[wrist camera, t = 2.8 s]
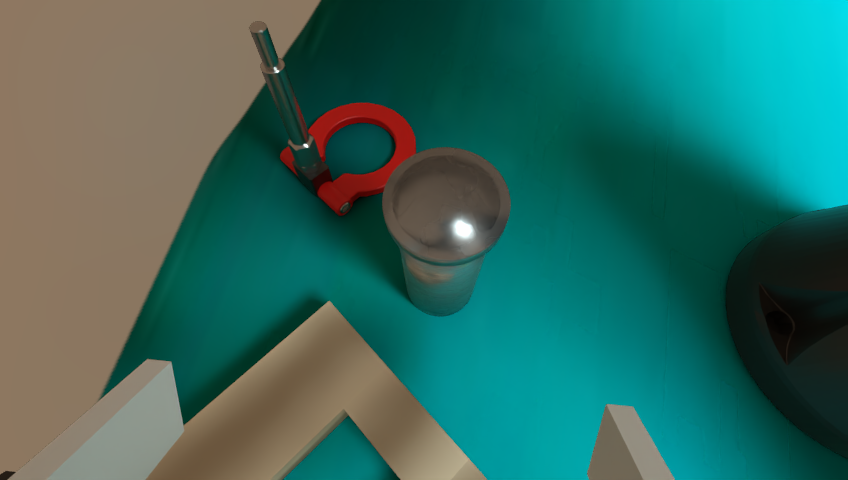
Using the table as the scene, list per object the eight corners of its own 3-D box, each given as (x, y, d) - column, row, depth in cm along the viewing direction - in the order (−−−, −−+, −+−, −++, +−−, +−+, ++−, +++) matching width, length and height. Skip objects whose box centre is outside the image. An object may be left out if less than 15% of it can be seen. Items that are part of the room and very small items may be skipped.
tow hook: (365, 97, 34) (275, 159, 31) (341, -82, 22) (191, -10, 19) (438, 154, 31) (347, 228, 28) (453, -12, 20) (301, 84, 17)
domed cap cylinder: (495, 284, 26) (537, 200, 16) (439, 340, 25) (446, 286, 15) (440, 232, 28) (446, 127, 18) (383, 282, 26) (356, 198, 16)
